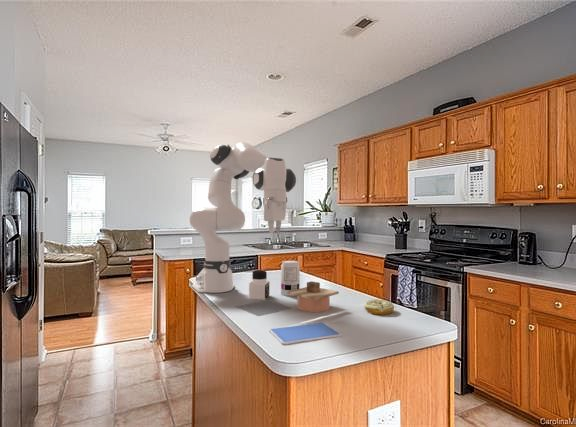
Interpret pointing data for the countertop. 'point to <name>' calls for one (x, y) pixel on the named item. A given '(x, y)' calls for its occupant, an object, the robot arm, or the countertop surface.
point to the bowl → (313, 304)
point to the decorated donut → (379, 307)
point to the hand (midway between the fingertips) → (274, 232)
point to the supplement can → (289, 277)
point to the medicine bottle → (259, 285)
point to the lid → (313, 291)
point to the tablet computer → (303, 333)
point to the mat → (263, 307)
